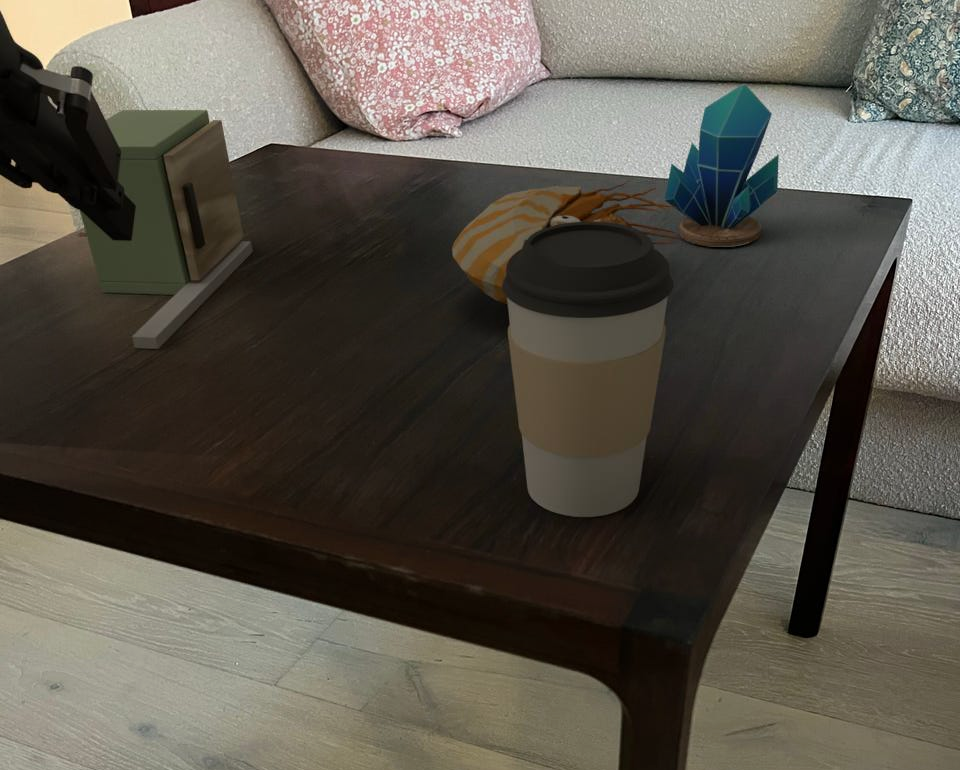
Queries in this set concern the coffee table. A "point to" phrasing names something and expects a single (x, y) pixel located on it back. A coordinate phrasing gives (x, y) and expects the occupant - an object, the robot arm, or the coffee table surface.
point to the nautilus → (531, 228)
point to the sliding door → (204, 198)
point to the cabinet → (155, 225)
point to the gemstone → (724, 173)
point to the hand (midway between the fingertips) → (124, 222)
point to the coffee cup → (586, 360)
